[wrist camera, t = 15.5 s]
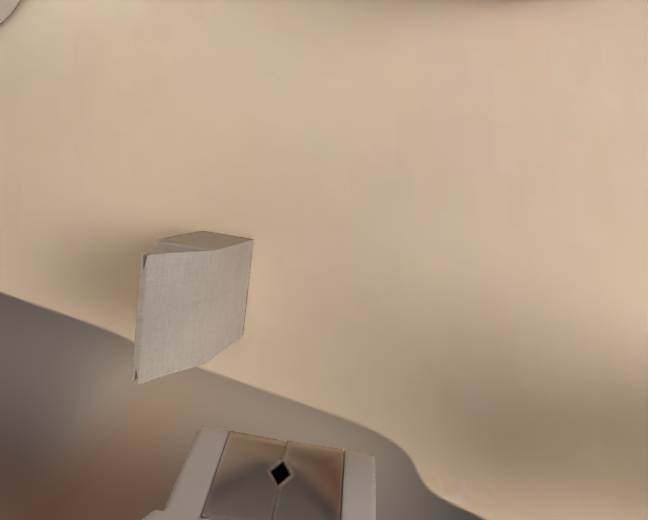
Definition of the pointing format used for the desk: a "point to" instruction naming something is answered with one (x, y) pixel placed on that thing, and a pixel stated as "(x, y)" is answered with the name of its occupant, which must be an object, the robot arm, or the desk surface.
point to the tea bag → (189, 301)
